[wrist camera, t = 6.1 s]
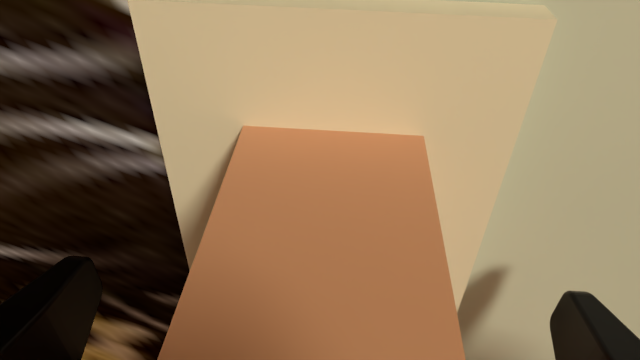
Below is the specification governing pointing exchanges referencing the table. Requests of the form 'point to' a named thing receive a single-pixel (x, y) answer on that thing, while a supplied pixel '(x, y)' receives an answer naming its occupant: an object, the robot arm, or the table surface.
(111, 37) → the table surface
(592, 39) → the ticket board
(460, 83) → the stub
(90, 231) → the table surface
